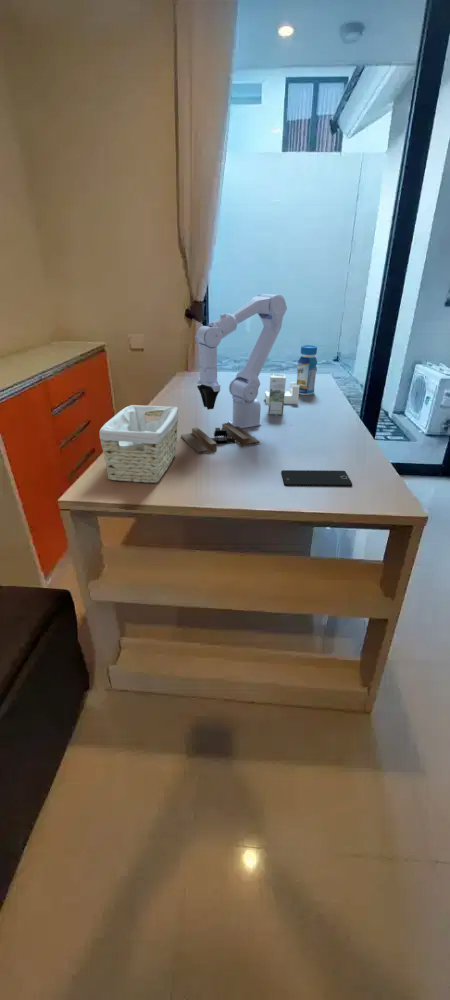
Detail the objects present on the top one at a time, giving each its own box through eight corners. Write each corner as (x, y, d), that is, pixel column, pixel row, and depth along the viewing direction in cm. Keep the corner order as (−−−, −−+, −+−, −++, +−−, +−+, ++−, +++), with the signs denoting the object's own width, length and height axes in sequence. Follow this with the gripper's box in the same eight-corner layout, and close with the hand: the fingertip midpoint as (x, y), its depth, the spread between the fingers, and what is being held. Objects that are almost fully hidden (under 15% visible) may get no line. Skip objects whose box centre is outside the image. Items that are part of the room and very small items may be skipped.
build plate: (239, 438, 147) (239, 425, 145) (240, 447, 141) (240, 433, 139) (202, 438, 147) (202, 425, 145) (201, 446, 140) (201, 433, 138)
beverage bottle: (315, 395, 192) (320, 348, 183) (296, 395, 193) (300, 347, 183) (312, 390, 200) (317, 344, 190) (294, 390, 200) (298, 344, 190)
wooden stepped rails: (237, 428, 154) (237, 421, 153) (259, 443, 142) (260, 436, 140) (181, 436, 146) (180, 429, 145) (198, 453, 134) (198, 446, 133)
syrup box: (282, 410, 173) (285, 373, 166) (283, 415, 167) (285, 377, 160) (268, 410, 173) (270, 373, 166) (268, 415, 168) (270, 376, 161)
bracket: (294, 399, 188) (296, 381, 184) (297, 404, 182) (299, 386, 178) (264, 399, 187) (265, 381, 184) (266, 404, 181) (267, 386, 178)
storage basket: (131, 449, 137) (126, 403, 130) (182, 452, 135) (180, 405, 128) (103, 483, 116) (95, 430, 109) (162, 487, 114) (158, 433, 107)
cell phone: (352, 487, 116) (353, 484, 115) (284, 487, 116) (284, 484, 115) (344, 473, 123) (345, 470, 123) (280, 473, 123) (281, 470, 123)
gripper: (188, 363, 145) (189, 403, 151) (205, 372, 133) (206, 415, 140) (208, 361, 148) (208, 401, 154) (226, 370, 136) (226, 412, 143)
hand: (208, 407), depth 147 cm, fingers closed
